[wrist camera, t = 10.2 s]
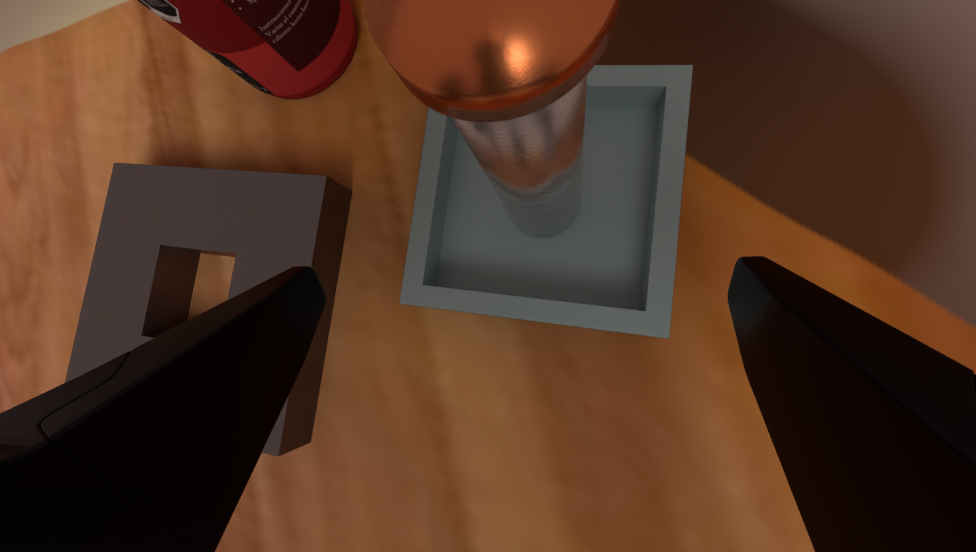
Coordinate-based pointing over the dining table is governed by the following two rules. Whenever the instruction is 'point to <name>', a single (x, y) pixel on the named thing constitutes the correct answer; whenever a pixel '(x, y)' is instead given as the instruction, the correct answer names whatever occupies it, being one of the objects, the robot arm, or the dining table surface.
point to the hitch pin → (506, 88)
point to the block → (211, 230)
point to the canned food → (270, 39)
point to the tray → (588, 241)
